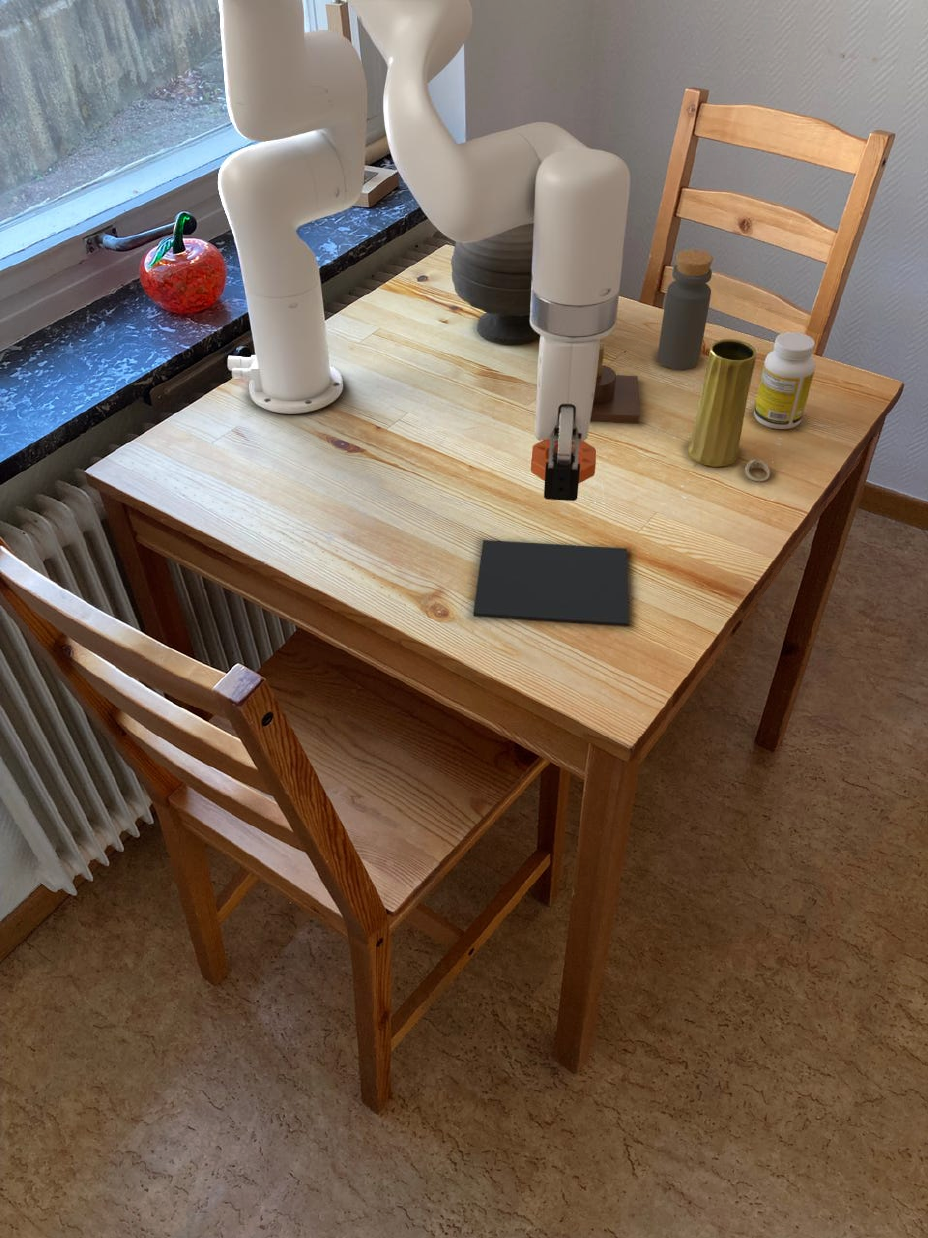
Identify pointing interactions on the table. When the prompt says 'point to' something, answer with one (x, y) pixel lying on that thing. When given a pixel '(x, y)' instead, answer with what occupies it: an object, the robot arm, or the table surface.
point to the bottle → (686, 311)
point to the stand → (614, 395)
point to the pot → (498, 283)
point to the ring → (758, 465)
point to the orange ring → (542, 451)
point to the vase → (722, 403)
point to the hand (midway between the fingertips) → (561, 476)
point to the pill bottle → (785, 381)
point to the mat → (553, 583)
